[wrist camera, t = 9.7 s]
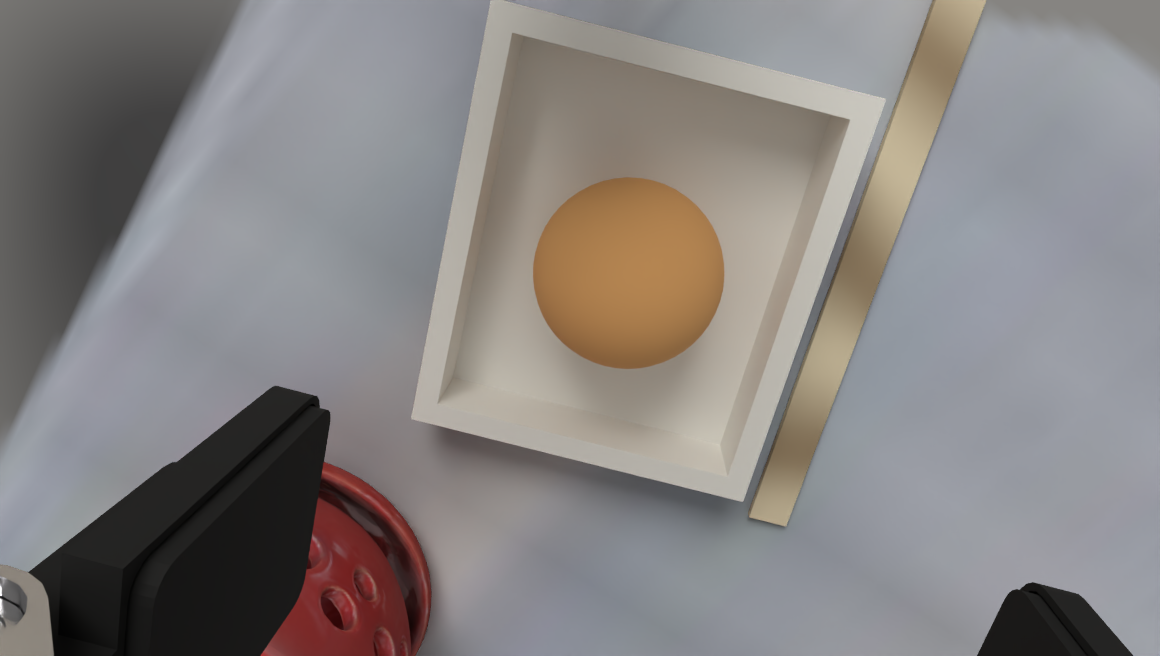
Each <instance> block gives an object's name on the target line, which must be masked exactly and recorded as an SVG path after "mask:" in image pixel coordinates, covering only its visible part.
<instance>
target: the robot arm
mask: <svg viewBox="0 0 1160 656" xmlns="http://www.w3.org/2000/svg"><path fill="white" fill-rule="evenodd" d="M319 407H320V405H319V399H318V397H317V396H313V395H310V394H306V393H302V392H298V391H294V390H290V389H287V388H283V387H279V386H274V387H272V388H270V389H269V390H268V391H266V392H265V393H264V394H263V395H261V396H260V397H259V398H257V399H256V400H255V401H254V402H252V403H251V404H250V405H249V406H247V407H246V408H245V409H244V410H242V411H241V412H240V413H238V414H237V415H236V416H235V417H233V418H232V419H231V420H230V421H228V422H227V423H226V424H225V425H223V426H222V427H221V428H219V429H218V430H217V431H216V432H214V433H213V434H212V435H211V436H209V437H208V438H207V439H206V440H204V441H203V442H202V443H200V444H199V445H198V446H197V447H195V448H194V449H193V450H192V451H190V452H189V453H188V454H187V455H185V456H184V457H183V458H181V459H180V460H179V461H178V462H172V463H170V464H168V465H167V466H165V467H163V468H162V469H160V470H159V471H158V472H157V473H155V474H154V475H153V476H151V477H150V478H149V479H148V480H146V481H145V482H144V483H142V484H141V485H140V486H139V487H137V488H136V489H135V490H133V491H132V492H131V493H130V494H128V495H127V496H126V497H124V498H123V499H122V500H121V501H119V502H118V503H117V504H115V505H114V506H113V507H112V508H110V509H109V510H108V511H106V512H105V513H104V514H103V515H101V516H100V517H99V518H97V519H96V520H95V521H94V522H92V523H91V524H90V525H88V526H87V527H86V528H85V529H83V530H82V531H81V532H79V533H78V534H77V535H76V536H74V537H73V538H72V539H70V540H69V541H68V542H67V543H65V544H64V545H63V546H61V547H60V548H59V549H58V550H56V551H55V552H54V553H52V554H51V555H50V556H49V557H47V558H46V559H45V560H43V561H42V562H41V563H40V564H38V565H37V566H36V567H34V568H33V569H32V570H31V571H29V572H25V571H22V570H19V569H17V568H14V567H11V566H8V565H0V656H261V654H262V653H263V651H264V650H265V648H266V647H267V645H268V644H269V643H270V641H271V640H272V638H273V637H274V635H275V634H276V632H277V631H278V629H279V628H280V626H281V625H282V624H283V622H284V621H285V619H286V618H287V616H288V615H289V613H290V612H291V610H292V609H293V607H294V606H295V604H296V602H297V600H298V598H299V596H300V593H301V591H302V588H303V585H304V581H305V576H306V570H307V564H308V558H309V551H310V545H311V539H312V532H313V526H314V520H315V514H316V507H317V501H318V495H319V488H320V482H321V476H322V470H323V463H324V457H325V451H326V444H327V438H328V432H329V426H330V412H329V410H325V409H321V408H319ZM977 656H1133V655H1132V654H1131V652H1130V651H1129V650H1128V649H1127V648H1126V647H1125V646H1124V644H1123V643H1122V642H1121V641H1120V640H1119V639H1118V637H1117V636H1116V635H1115V634H1114V633H1113V632H1112V631H1111V629H1110V628H1109V627H1108V626H1107V625H1106V624H1105V622H1104V621H1103V620H1102V619H1101V618H1100V617H1099V616H1098V614H1097V613H1096V612H1095V611H1094V610H1093V609H1092V607H1091V606H1090V605H1089V604H1088V603H1087V602H1086V601H1085V599H1084V598H1082V597H1081V596H1080V595H1079V594H1076V593H1072V592H1068V591H1064V590H1060V589H1056V588H1053V587H1049V586H1045V585H1041V584H1037V583H1033V582H1032V583H1028V584H1026V585H1025V586H1023V587H1022V588H1021V589H1020V590H1018V589H1016V590H1012V591H1011V592H1010V593H1009V594H1008V595H1007V597H1006V598H1005V600H1004V602H1003V604H1002V606H1001V608H1000V610H999V612H998V614H997V616H996V618H995V620H994V622H993V624H992V626H991V628H990V630H989V632H988V634H987V637H986V639H985V641H984V643H983V645H982V647H981V649H980V651H979V653H978V655H977Z"/></svg>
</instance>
